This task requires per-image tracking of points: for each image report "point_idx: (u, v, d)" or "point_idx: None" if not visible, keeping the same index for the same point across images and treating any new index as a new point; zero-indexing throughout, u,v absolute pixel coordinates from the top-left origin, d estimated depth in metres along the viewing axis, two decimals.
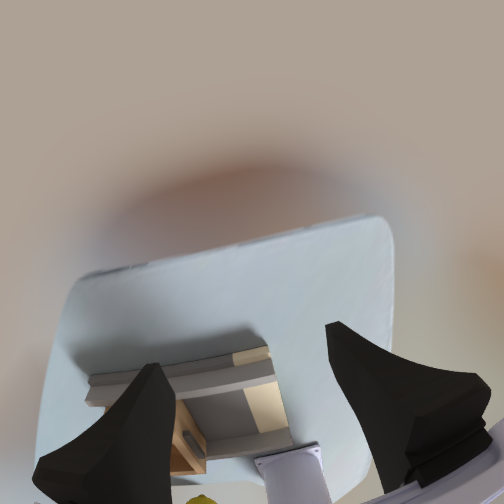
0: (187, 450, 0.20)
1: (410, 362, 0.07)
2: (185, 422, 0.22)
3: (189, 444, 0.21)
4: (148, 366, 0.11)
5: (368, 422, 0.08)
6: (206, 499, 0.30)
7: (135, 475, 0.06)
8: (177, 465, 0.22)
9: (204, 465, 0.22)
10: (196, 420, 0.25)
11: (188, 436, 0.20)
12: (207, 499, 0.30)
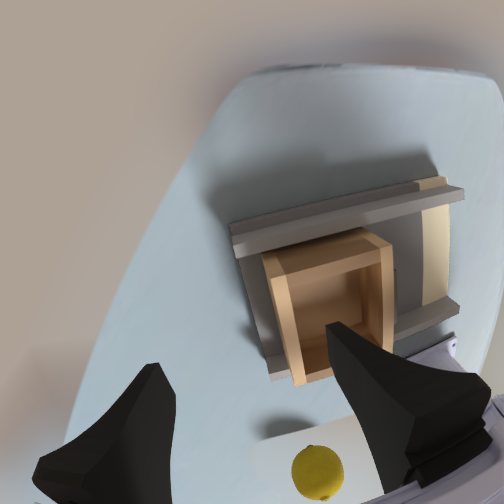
0: (392, 298, 0.16)
1: (410, 362, 0.07)
2: None
3: None
4: (148, 366, 0.11)
5: (368, 422, 0.08)
6: (323, 446, 0.26)
7: (135, 475, 0.06)
8: None
9: None
10: None
11: (395, 272, 0.16)
12: (323, 446, 0.27)
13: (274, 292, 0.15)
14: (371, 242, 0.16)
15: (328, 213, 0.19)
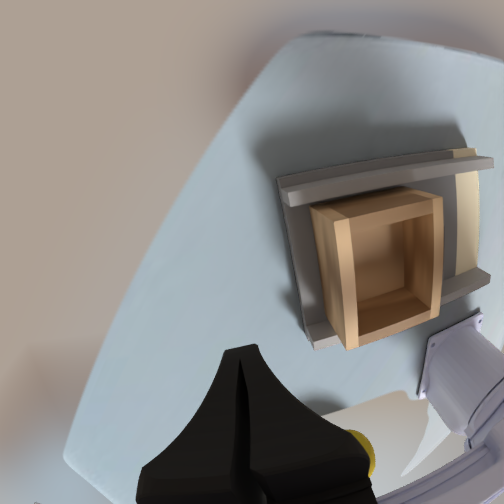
0: (442, 253, 0.15)
1: (295, 402, 0.07)
2: None
3: None
4: (230, 351, 0.11)
5: None
6: (352, 430, 0.25)
7: (249, 467, 0.06)
8: (402, 313, 0.17)
9: None
10: None
11: None
12: (353, 430, 0.25)
13: (336, 237, 0.14)
14: (421, 195, 0.15)
15: (375, 170, 0.17)
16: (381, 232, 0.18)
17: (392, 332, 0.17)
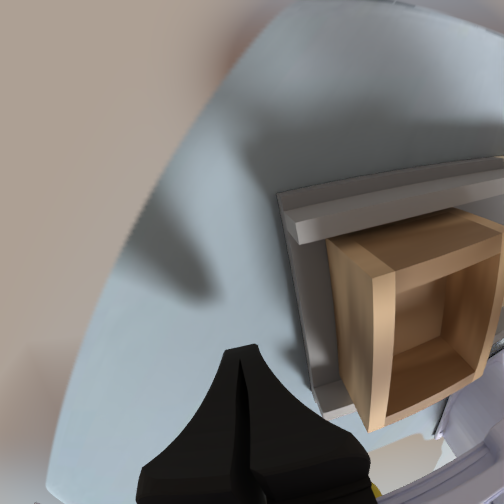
0: (501, 303, 0.09)
1: (295, 402, 0.07)
2: None
3: None
4: (230, 351, 0.11)
5: None
6: None
7: (249, 467, 0.06)
8: (441, 378, 0.11)
9: None
10: None
11: None
12: None
13: (374, 301, 0.08)
14: (484, 225, 0.09)
15: (417, 185, 0.12)
16: None
17: (427, 405, 0.11)
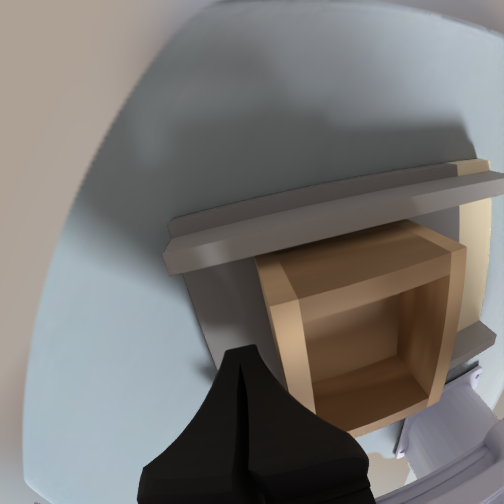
0: (455, 328, 0.09)
1: (293, 402, 0.07)
2: None
3: None
4: (231, 351, 0.11)
5: None
6: None
7: None
8: (388, 402, 0.11)
9: None
10: None
11: None
12: None
13: (276, 329, 0.08)
14: (433, 242, 0.09)
15: (325, 203, 0.12)
16: None
17: (370, 430, 0.11)
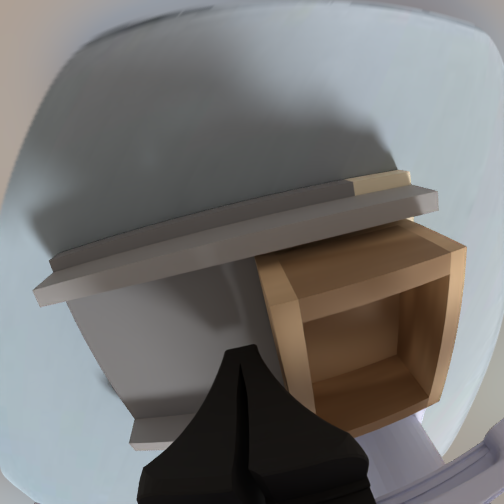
0: (455, 328, 0.09)
1: (294, 402, 0.07)
2: None
3: None
4: (231, 351, 0.11)
5: None
6: None
7: None
8: (389, 402, 0.11)
9: None
10: (260, 345, 0.14)
11: None
12: None
13: (276, 329, 0.08)
14: (432, 242, 0.09)
15: (171, 241, 0.11)
16: None
17: (371, 430, 0.11)
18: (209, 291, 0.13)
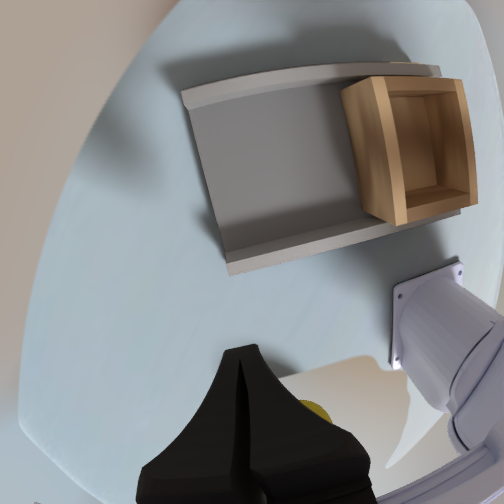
0: (471, 133, 0.13)
1: (295, 402, 0.07)
2: None
3: None
4: (230, 351, 0.11)
5: None
6: (308, 401, 0.23)
7: (249, 467, 0.06)
8: (443, 196, 0.15)
9: None
10: (343, 162, 0.18)
11: None
12: (309, 401, 0.23)
13: (375, 92, 0.12)
14: None
15: None
16: (409, 122, 0.16)
17: (438, 211, 0.15)
18: (309, 113, 0.17)
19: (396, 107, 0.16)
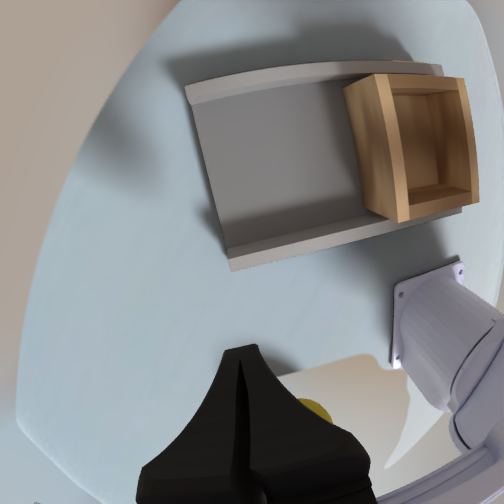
0: (472, 131, 0.13)
1: (295, 402, 0.07)
2: None
3: None
4: (230, 351, 0.11)
5: None
6: None
7: (249, 467, 0.06)
8: (445, 193, 0.15)
9: None
10: (345, 159, 0.18)
11: None
12: None
13: (378, 89, 0.12)
14: None
15: None
16: (412, 120, 0.16)
17: (440, 209, 0.15)
18: (312, 110, 0.17)
19: (398, 105, 0.16)
